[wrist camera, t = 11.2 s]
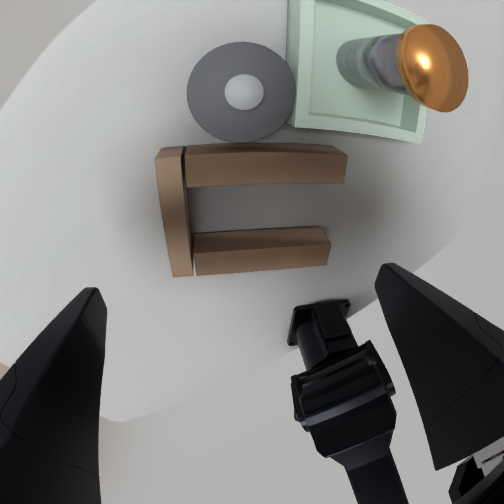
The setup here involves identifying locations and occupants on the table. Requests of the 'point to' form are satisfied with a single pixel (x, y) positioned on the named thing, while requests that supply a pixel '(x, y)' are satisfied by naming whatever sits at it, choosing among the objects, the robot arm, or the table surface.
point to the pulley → (241, 92)
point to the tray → (329, 78)
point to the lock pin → (409, 65)
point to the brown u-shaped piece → (237, 173)
